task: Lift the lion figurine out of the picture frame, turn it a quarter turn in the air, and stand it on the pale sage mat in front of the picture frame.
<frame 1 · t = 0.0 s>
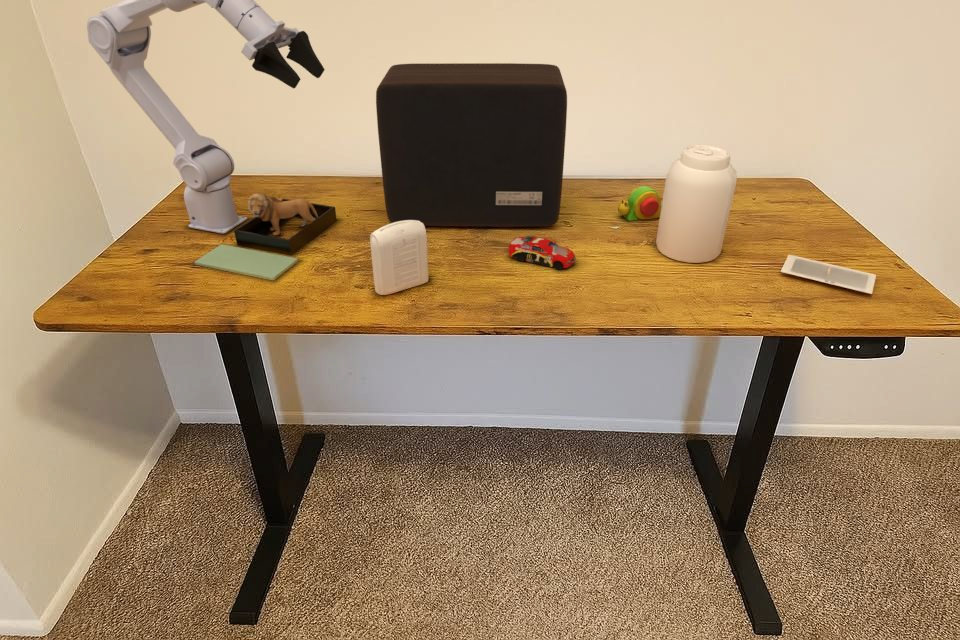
hand: (309, 78, 113), 32 cm above the table, tool tilted 50°, fingers open, 7 cm apart
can: (687, 250, 129), on the table
picture frame: (288, 232, 136), on the table
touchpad: (826, 279, 119), on the table
photo printer: (402, 286, 117), on the table
lion figurine: (288, 232, 136), resting in picture frame
sage mat: (246, 262, 125), on the table
race car: (541, 260, 125), on the table
toy snail: (656, 214, 143), on the table
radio: (474, 213, 144), on the table
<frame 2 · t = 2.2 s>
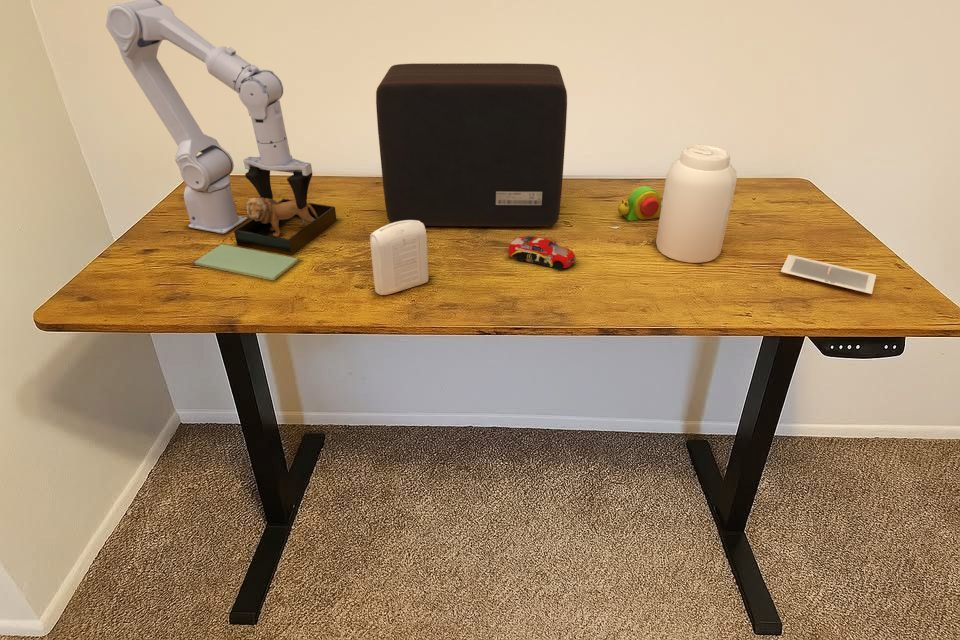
hand: (285, 205, 132), 6 cm above the table, tool pointing down
lion figurine: (288, 232, 136), resting in picture frame, touching gripper
everything else where it was.
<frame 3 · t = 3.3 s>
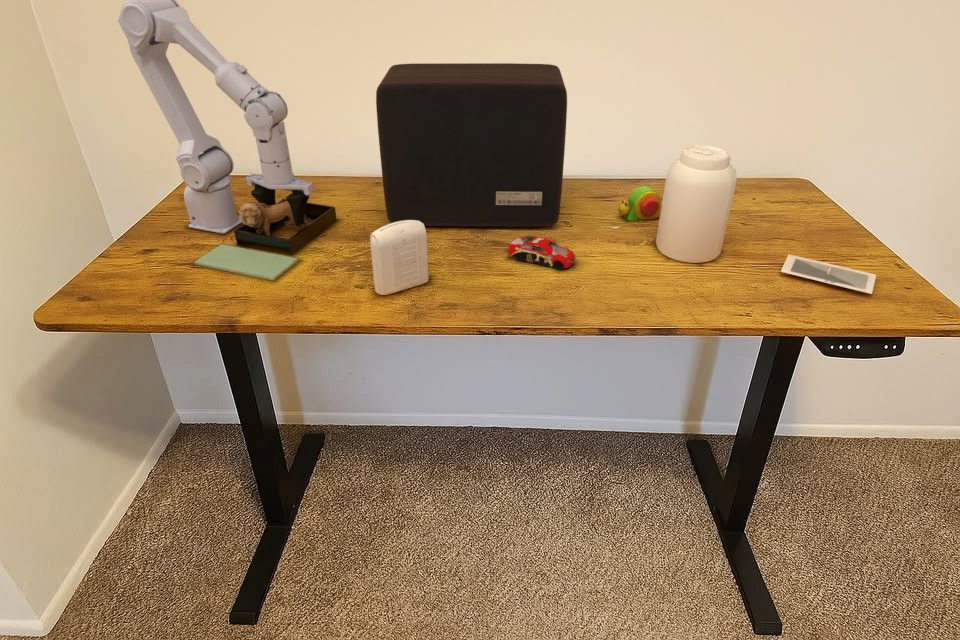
hand: (286, 222, 134), 2 cm above the table, tool pointing down, fingers closed on lion figurine, 6 cm apart
lion figurine: (277, 234, 135), resting in picture frame, touching gripper
everything else where it was.
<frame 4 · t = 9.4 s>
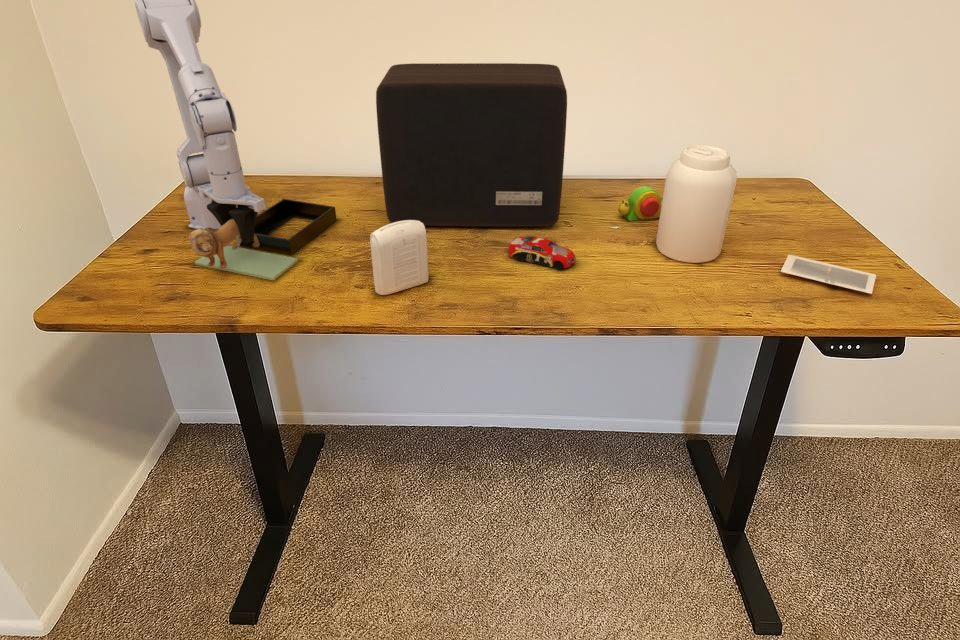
hand: (241, 238, 122), 5 cm above the table, tool pointing down, fingers closed on lion figurine, 3 cm apart
lion figurine: (231, 260, 121), point 2 cm above the table, touching gripper
everything else where it was.
when the fingers open (3 cm above the table, at t = 10.3 s): lion figurine stays where it is, resting on sage mat.
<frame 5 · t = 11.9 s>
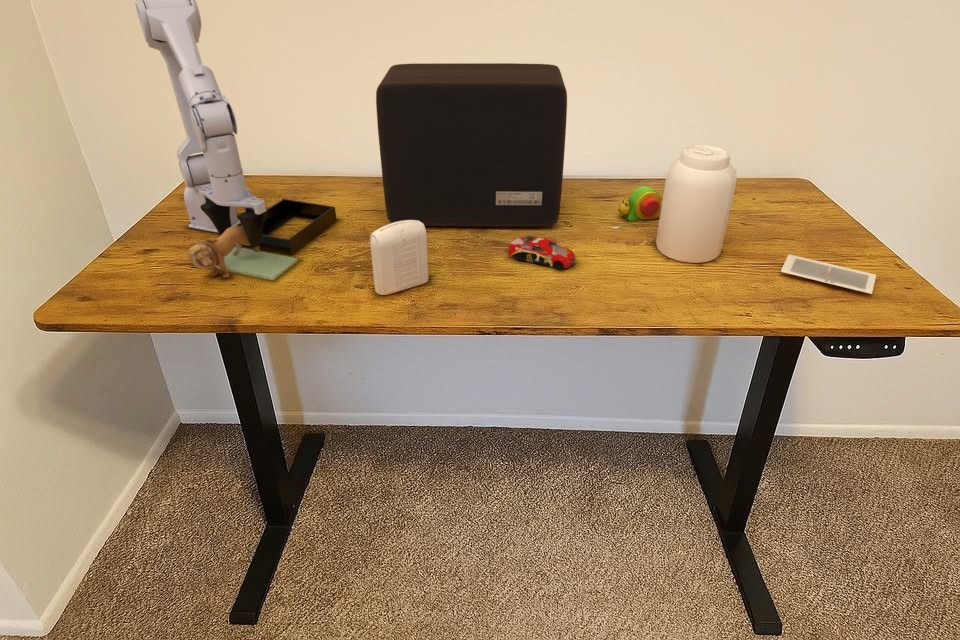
hand: (241, 241, 122), 5 cm above the table, tool pointing down, fingers open, 7 cm apart
lion figurine: (233, 267, 122), point 1 cm above the table, touching sage mat
everything else where it was.
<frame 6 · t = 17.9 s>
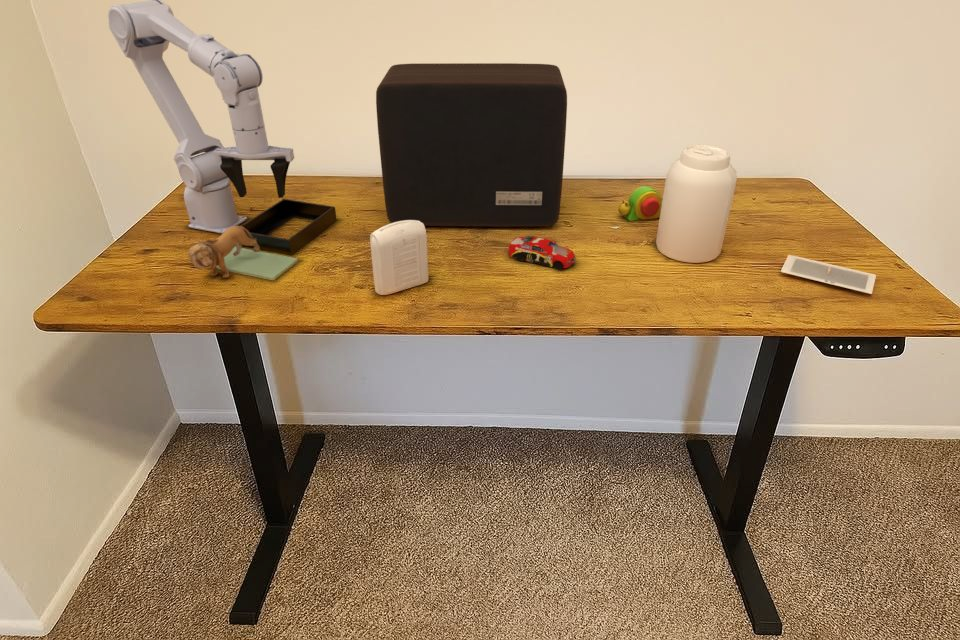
hand: (262, 195, 127), 10 cm above the table, tool pointing down, fingers open, 7 cm apart
nothing on the table moved.
at the end: lion figurine inside the target area on the sage mat (3.3 cm from its centre), point 0.6 cm above the sage mat's base; lion figurine touching sage mat, table; lion figurine tilted 13° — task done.
